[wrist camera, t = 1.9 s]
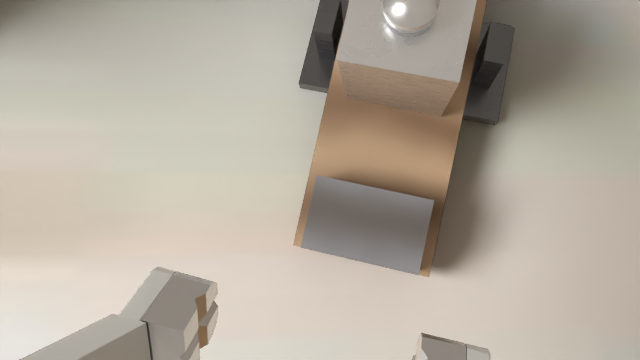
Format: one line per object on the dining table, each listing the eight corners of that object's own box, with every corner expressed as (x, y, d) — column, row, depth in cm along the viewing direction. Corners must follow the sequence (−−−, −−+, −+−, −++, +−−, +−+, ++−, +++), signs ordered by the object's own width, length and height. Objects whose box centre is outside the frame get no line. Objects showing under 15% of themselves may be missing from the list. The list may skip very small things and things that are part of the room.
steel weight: (440, 116, 37) (463, 74, 27) (346, 98, 38) (333, 51, 28) (460, 24, 38) (490, -53, 27) (366, 8, 38) (361, -72, 28)
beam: (427, 275, 37) (433, 281, 33) (295, 244, 39) (285, 246, 35) (518, -160, 39) (534, -205, 35) (390, -175, 41) (391, -220, 37)
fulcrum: (494, 125, 41) (513, 100, 35) (300, 87, 43) (290, 58, 37) (511, 34, 42) (532, -4, 37) (322, 2, 44) (316, -38, 39)
